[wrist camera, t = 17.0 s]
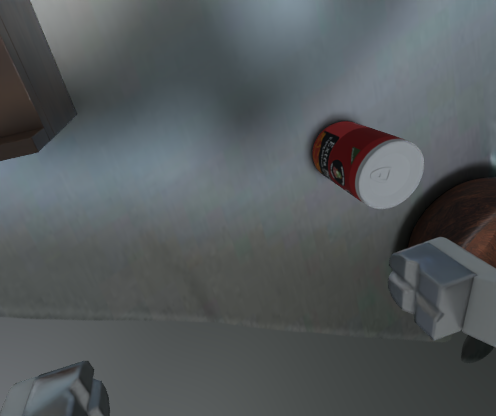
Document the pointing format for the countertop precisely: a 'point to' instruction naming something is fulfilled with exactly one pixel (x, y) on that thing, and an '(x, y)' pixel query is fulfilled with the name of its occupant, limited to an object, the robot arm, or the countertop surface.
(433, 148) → the countertop surface
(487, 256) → the wooden bowl
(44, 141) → the shelf
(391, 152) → the canned food
